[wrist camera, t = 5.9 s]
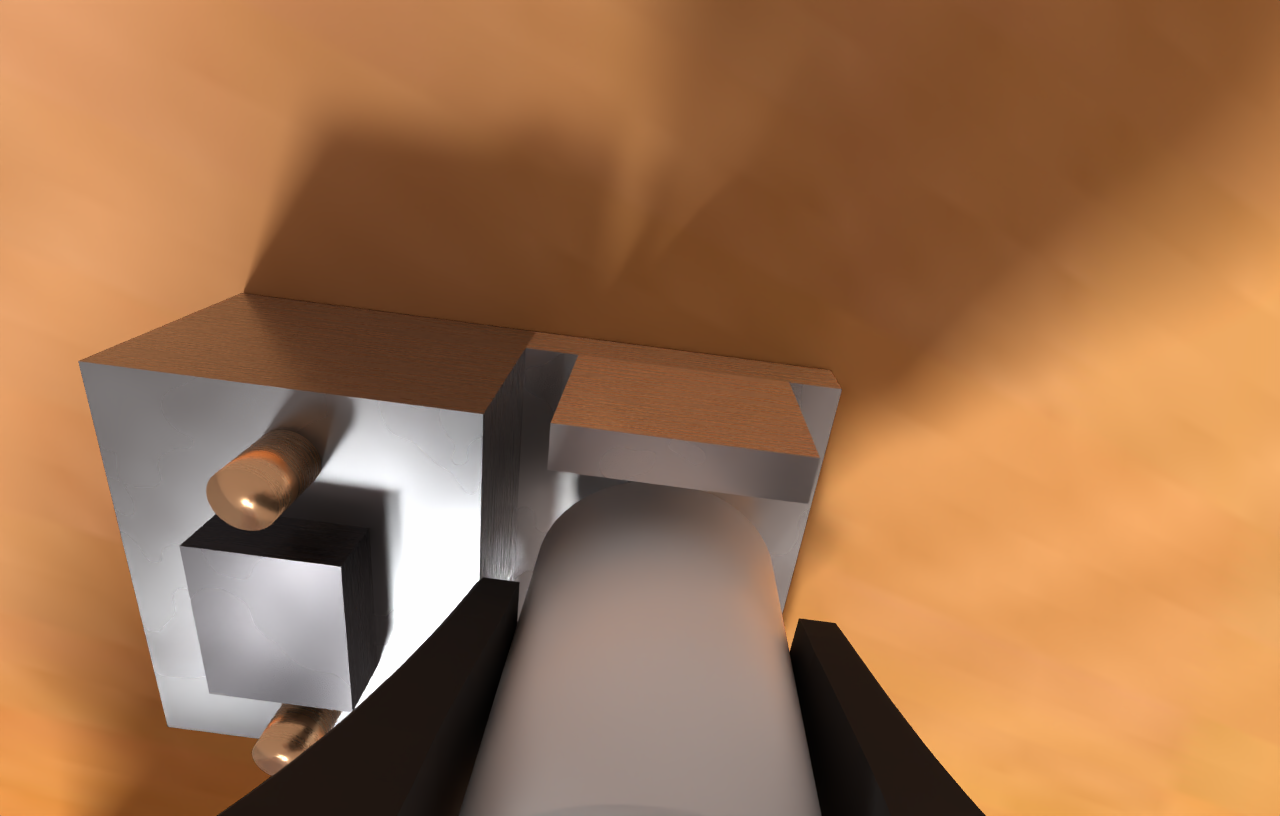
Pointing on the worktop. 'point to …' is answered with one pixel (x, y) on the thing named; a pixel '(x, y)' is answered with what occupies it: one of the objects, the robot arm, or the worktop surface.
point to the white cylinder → (647, 671)
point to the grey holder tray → (396, 484)
